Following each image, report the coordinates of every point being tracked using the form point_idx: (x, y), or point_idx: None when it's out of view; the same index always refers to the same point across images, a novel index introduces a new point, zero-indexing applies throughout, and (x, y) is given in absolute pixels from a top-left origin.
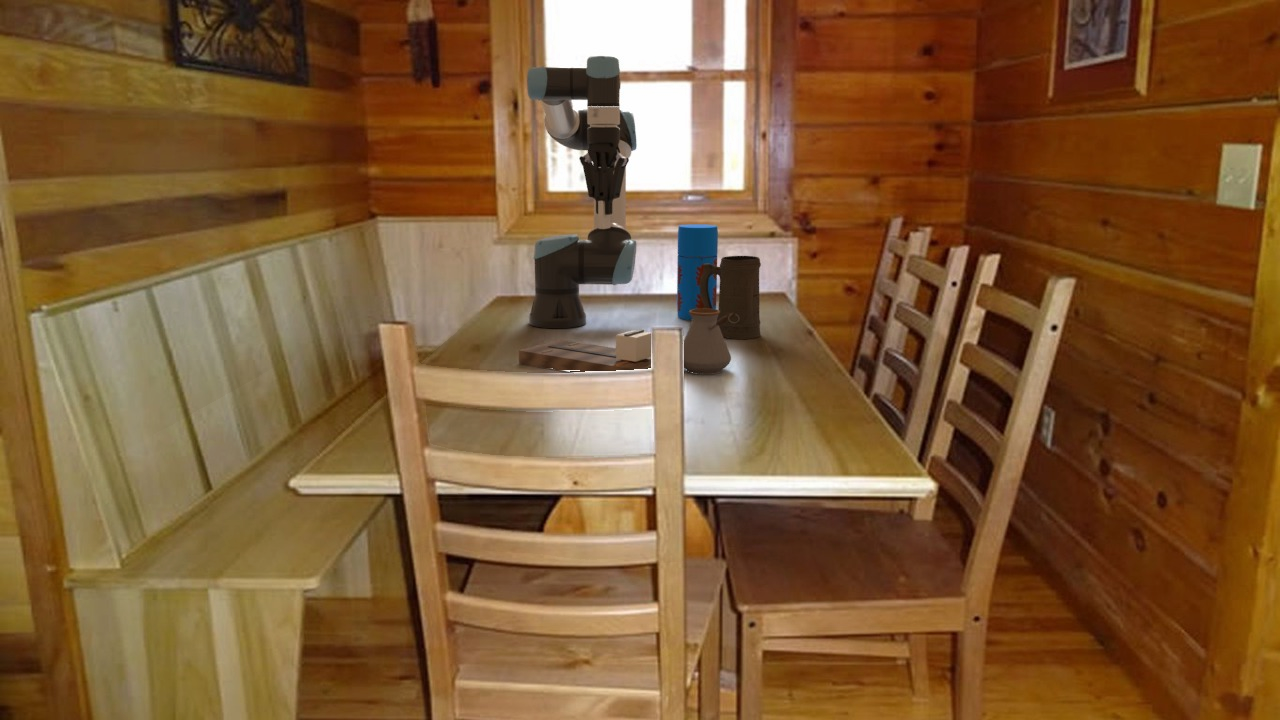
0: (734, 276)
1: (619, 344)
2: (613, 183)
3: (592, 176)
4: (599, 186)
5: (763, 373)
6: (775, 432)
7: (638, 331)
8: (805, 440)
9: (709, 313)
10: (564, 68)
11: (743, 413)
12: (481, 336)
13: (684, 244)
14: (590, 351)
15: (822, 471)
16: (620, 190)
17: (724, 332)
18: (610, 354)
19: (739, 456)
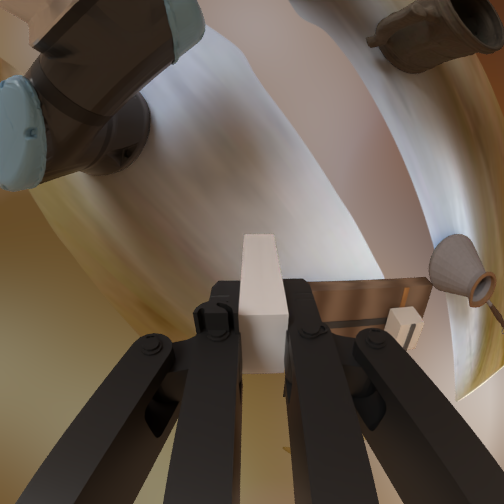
0: (469, 51)
1: None
2: (395, 460)
3: (111, 492)
4: (239, 449)
5: (487, 234)
6: (488, 349)
7: (412, 334)
8: (497, 348)
9: (488, 299)
10: None
11: (477, 337)
12: (104, 266)
13: None
14: (339, 323)
15: (495, 370)
16: (417, 369)
17: (404, 67)
18: (366, 320)
19: (471, 381)
